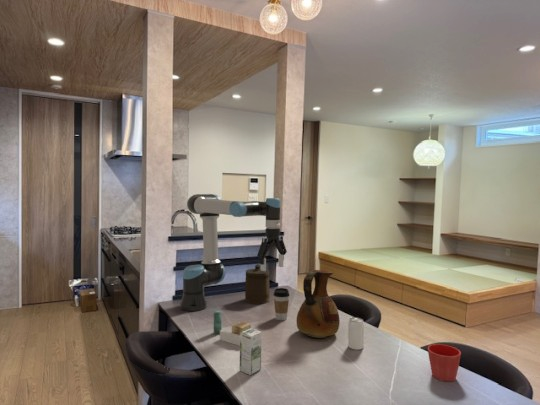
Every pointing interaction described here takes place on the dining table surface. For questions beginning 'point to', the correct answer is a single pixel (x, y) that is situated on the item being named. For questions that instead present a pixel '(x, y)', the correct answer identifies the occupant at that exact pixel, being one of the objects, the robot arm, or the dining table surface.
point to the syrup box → (250, 351)
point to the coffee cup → (281, 303)
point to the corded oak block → (236, 327)
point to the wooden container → (257, 285)
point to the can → (356, 333)
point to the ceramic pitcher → (317, 307)
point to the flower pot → (444, 361)
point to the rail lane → (230, 337)
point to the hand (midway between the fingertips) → (272, 268)
